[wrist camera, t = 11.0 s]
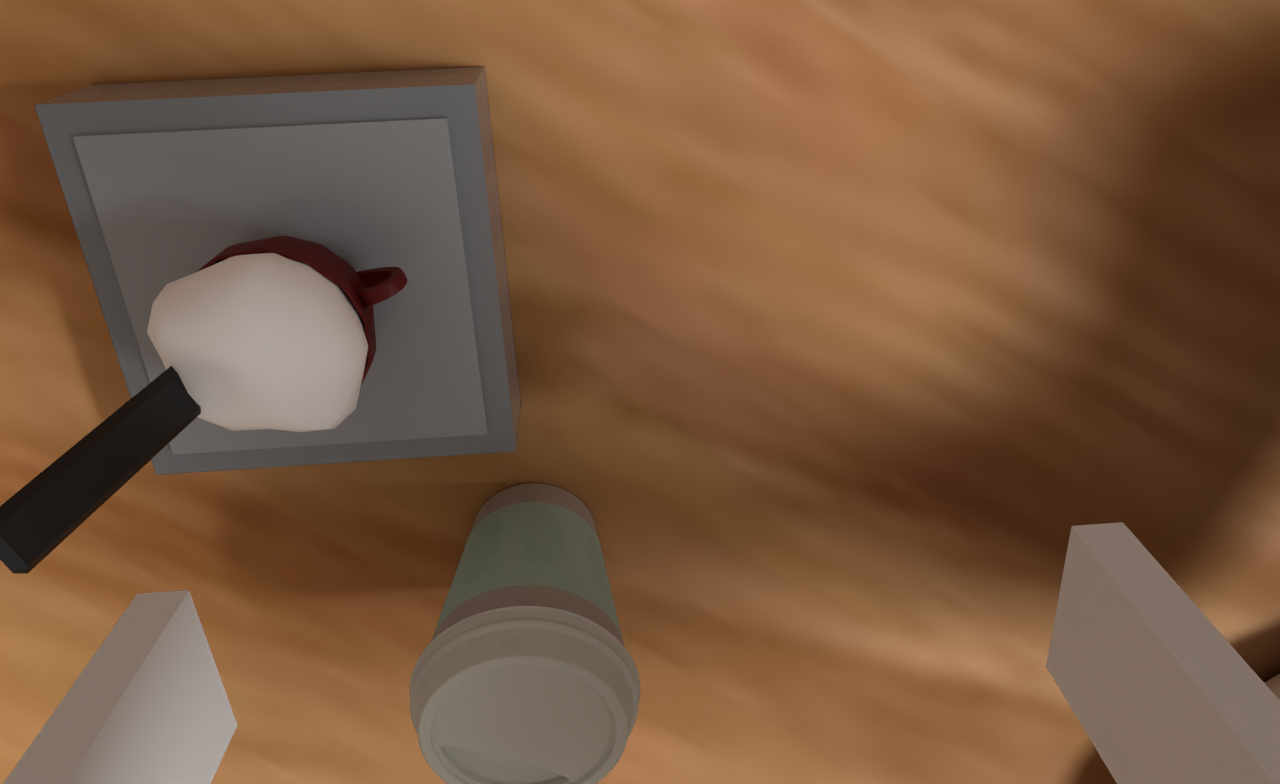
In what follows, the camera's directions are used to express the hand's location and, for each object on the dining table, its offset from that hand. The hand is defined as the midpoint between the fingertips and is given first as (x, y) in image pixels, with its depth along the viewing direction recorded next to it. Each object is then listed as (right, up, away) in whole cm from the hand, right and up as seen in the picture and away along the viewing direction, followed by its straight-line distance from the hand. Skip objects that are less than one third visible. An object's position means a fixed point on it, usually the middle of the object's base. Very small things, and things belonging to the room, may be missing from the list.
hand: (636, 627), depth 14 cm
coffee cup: (-5, -3, +29) cm, 30 cm away
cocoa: (-12, +7, +19) cm, 24 cm away
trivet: (-12, +9, +22) cm, 27 cm away
